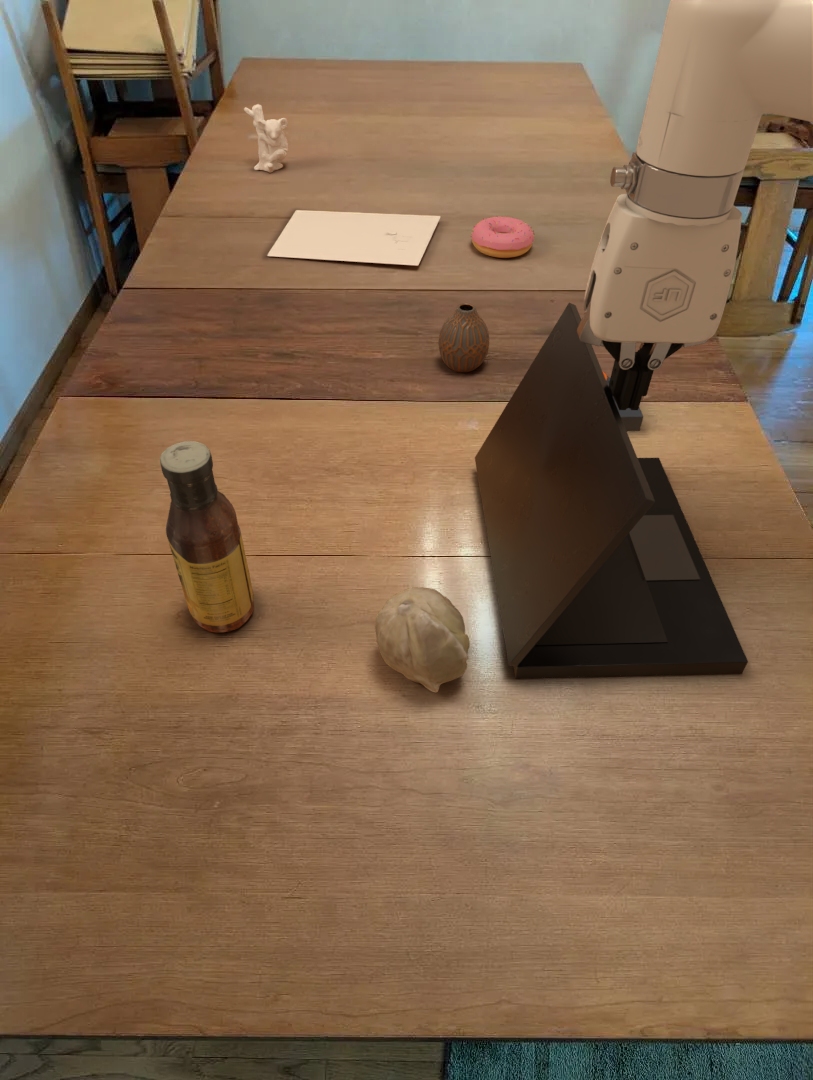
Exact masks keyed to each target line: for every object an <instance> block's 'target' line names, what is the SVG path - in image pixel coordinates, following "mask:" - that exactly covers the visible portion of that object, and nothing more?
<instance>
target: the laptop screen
mask: <svg viewBox="0 0 813 1080" xmlns="http://www.w3.org/2000/svg"><path fill="white" fill-rule="evenodd" d="M581 320H582V318H581V315H580V313H579V310H578V308H577V306H576V304H574V303H571V302H568V303H567V304H566V307H565V309H563V312H562V313H561V315H560V317H559V318H558V319H557V321H556V323H555V324H554V326H553V328H552V330H551V331H550V333H549V334H548V336H547V338H546V340H545V341H544V343H543V344H542V346H541V348H540V349H539V351H538V352H537V354H536V356H535V357H534V360H533V361H532V363H531V365H530V366H529V368H528V369H527V371H526V372H525V374H524V375H523V377H522V379H521V381H520V382H519V384H518V385H517V387H516V389H515V391H514V392H513V394H512V396H511V397H510V399H509V400H508V402H507V404H506V405H505V407H504V408H503V411H502V412H501V413H500V415H499V417H498V419H497V420H496V422H495V423H494V425H493V427H492V428H491V430H490V432H489V433H488V435H487V437H486V438H485V440H484V441H483V444H481V446H480V448H479V450H478V451H477V453H476V455H475V456H474V462H475V468H476V474H477V480H478V486H479V493H480V497H481V504H482V510H483V511H482V512H483V517H484V524H485V529H486V535H487V540H488V541H487V542H488V546H489V547H488V548H489V553H490V558H491V559H490V560H491V566H492V571H493V577H494V585H495V589H496V590H495V591H496V596H497V602H498V608H499V613H500V614H499V615H500V618H501V619H500V620H501V625H502V626H501V627H502V631H503V638H504V645H505V651H506V657H507V662H508V666H511V667H513V666H514V667H517V666H518V664H519V663H520V662H521V661H522V660H523V658H524V657H525V656H526V655H527V654H528V653H529V651H530V650H531V649H532V648H533V647H534V645H535V644H536V643H537V642H538V641H539V639H540V638H541V637H542V636H543V635H544V633H545V632H546V631H547V630H548V629H549V628H550V626H551V625H552V624H553V623H554V622H555V620H556V619H557V618H558V617H559V616H560V614H561V613H562V612H563V611H564V610H565V608H566V607H567V606H568V605H569V604H570V603H571V601H572V600H573V599H574V598H575V597H576V595H577V594H578V593H579V592H580V591H581V589H582V588H583V587H584V586H585V585H586V583H587V582H588V581H589V580H590V579H591V578H592V576H593V575H594V574H595V573H596V572H597V570H598V569H599V568H600V567H601V566H602V564H603V563H604V562H605V561H606V560H607V558H608V557H609V556H610V555H611V554H612V553H613V551H614V550H615V549H616V548H617V547H618V545H619V544H620V543H621V542H622V541H623V539H624V538H625V537H626V536H627V535H628V533H629V532H630V531H631V530H632V529H633V528H634V526H635V525H636V524H637V523H638V522H639V520H640V519H641V518H642V517H643V516H644V514H645V513H646V512H647V511H648V510H649V508H650V507H651V506H652V505H653V504H654V502H655V500H654V498H653V495H652V493H651V490H650V488H649V485H648V483H647V481H646V478H645V476H644V473H643V471H642V468H641V466H640V463H639V461H638V458H639V457H638V456H637V453H636V451H635V448H634V446H633V444H632V441H631V438H630V436H629V433H628V431H626V429H625V426H624V424H623V421H622V419H621V416H620V414H619V411H618V409H617V406H616V404H615V401H614V399H613V397H612V394H611V392H610V389H609V387H608V384H607V382H606V379H605V377H604V374H603V372H604V371H603V370H602V367H601V365H600V362H599V360H598V357H597V355H596V351H595V349H594V348H593V345H591V344H587V343H583V342H581V341H580V339H579V336H578V334H577V328H578V326H579V324H580V322H581ZM602 371H603V372H602Z"/></svg>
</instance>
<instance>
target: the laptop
mask: <svg viewBox="0 0 813 1080" xmlns="http://www.w3.org/2000/svg"><path fill="white" fill-rule="evenodd" d="M637 458H638V461H639V463H640V466H641V468H642V471H643V473H644V476H645V478H646V481H647V483H648V485H649V488H650V490H651V493H652V495H653V498H654V500H655V502H654V504H653V505H652V506H651V507H650V508H649V510H648V511H647V512H646V513H645V514H644V516H643V517H642V518H641V519H640V520H639V522H638V523H637V524H636V525H635V526H634V528H633V529H632V530H631V531H630V532H629V533H628V535H627V536H626V537H625V538H624V539H623V541H622V542H621V543H620V544H619V545H618V547H617V548H616V549H615V550H614V551H613V553H612V554H611V555H610V556H609V557H608V558H607V560H606V561H605V562H604V563H603V564H602V566H601V567H600V568H599V569H598V570H597V572H596V573H595V574H594V575H593V576H592V578H591V579H590V580H589V581H588V582H587V583H586V585H585V586H584V587H583V588H582V589H581V591H580V592H579V593H578V594H577V595H576V597H575V598H574V599H573V600H572V601H571V603H570V604H569V605H568V606H567V607H566V608H565V610H564V611H563V612H562V613H561V614H560V616H559V617H558V618H557V619H556V620H555V622H554V623H553V624H552V625H551V626H550V628H549V629H548V630H547V631H546V632H545V633H544V635H543V636H542V637H541V638H540V639H539V641H538V642H537V643H536V644H535V645H534V647H533V648H532V649H531V650H530V651H529V653H528V654H527V655H526V656H525V657H524V658H523V660H522V661H521V662H520V663H519V664H518V666H517V667H514V666H512V668H513V673H514V680H537V679H538V680H540V679H546V680H547V679H575V678H576V679H583V678H621V677H662V676H663V677H665V676H666V677H667V676H699V675H700V676H703V675H704V676H705V675H740V674H741V675H742V674H743V673H744V671H745V669H746V667H747V665H748V663H749V660H748V659H747V656H746V654H745V651H744V649H743V647H742V645H741V642H740V640H739V638H738V635H737V633H736V631H735V628H734V626H733V624H732V622H731V619H730V617H729V615H728V613H727V611H726V608H725V606H724V603H723V601H722V599H721V597H720V594H719V592H718V590H717V587H716V585H715V583H714V581H713V578H712V576H711V574H710V572H709V569H708V567H707V564H706V563H705V560H704V558H703V555H702V553H701V551H700V548H699V546H698V544H697V541H696V538H695V537H694V535H693V532H692V529H691V528H690V526H689V523H688V521H687V518H686V516H685V514H684V512H683V509H682V506H681V505H680V503H679V501H678V498H677V495H676V494H675V491H674V489H673V487H672V484H671V482H670V480H669V477H668V475H667V473H666V470H665V468H664V466H663V464H662V461H661V459H660V457H637Z"/></svg>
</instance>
